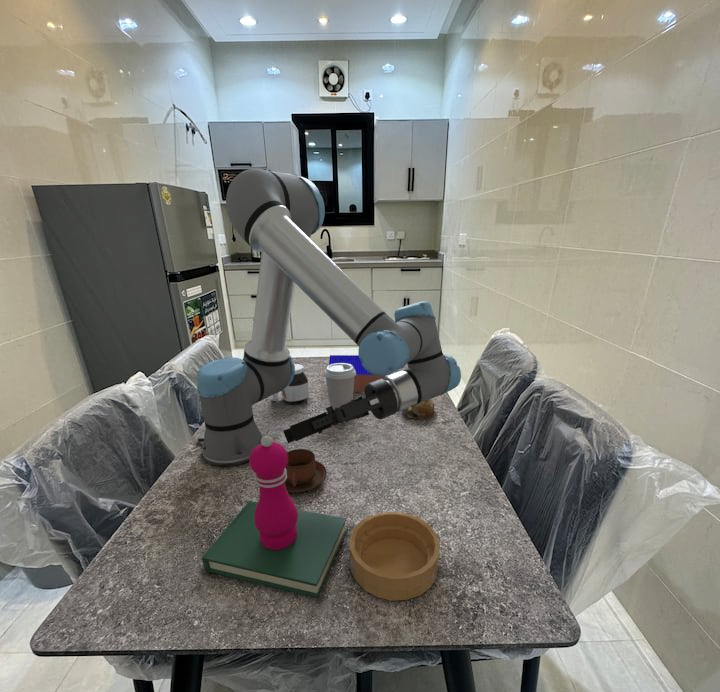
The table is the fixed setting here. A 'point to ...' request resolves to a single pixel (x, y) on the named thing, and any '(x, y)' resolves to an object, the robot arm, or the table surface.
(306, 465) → the cup and saucer
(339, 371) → the coffee cup
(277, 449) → the pepper mill
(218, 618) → the table surface
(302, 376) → the spread jar
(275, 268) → the robot arm
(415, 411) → the bread roll
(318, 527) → the book
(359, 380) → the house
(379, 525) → the bowl
